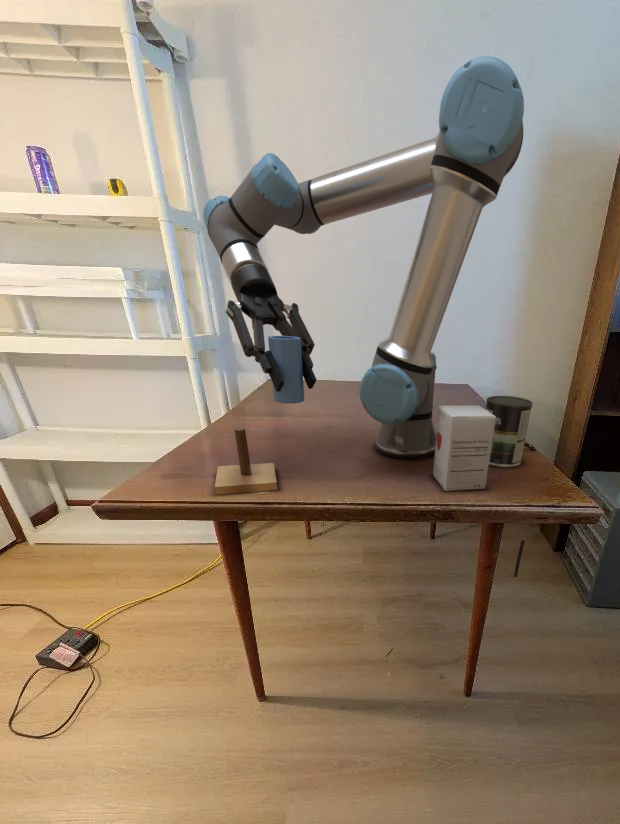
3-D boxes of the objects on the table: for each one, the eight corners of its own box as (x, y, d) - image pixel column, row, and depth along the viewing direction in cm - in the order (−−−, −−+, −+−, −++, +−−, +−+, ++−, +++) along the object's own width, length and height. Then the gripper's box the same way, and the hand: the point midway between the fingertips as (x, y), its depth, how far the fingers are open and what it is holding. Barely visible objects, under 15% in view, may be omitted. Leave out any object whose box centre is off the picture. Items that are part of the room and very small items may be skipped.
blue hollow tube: (302, 397, 85) (298, 336, 80) (305, 403, 80) (301, 339, 75) (273, 397, 83) (267, 335, 78) (274, 403, 79) (268, 338, 73)
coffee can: (493, 469, 97) (502, 406, 90) (470, 455, 106) (478, 396, 99) (530, 465, 101) (542, 404, 94) (506, 451, 109) (515, 394, 102)
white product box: (431, 475, 93) (437, 404, 85) (470, 473, 94) (479, 404, 87) (444, 491, 85) (451, 415, 77) (486, 489, 87) (497, 415, 79)
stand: (274, 469, 91) (268, 420, 86) (277, 489, 82) (271, 435, 77) (219, 473, 88) (209, 422, 83) (216, 494, 79) (205, 438, 74)
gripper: (290, 297, 89) (334, 393, 86) (196, 292, 78) (242, 402, 76) (301, 266, 83) (348, 369, 80) (200, 257, 72) (250, 375, 69)
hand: (296, 385), depth 78 cm, fingers closed on blue hollow tube, 6 cm apart
